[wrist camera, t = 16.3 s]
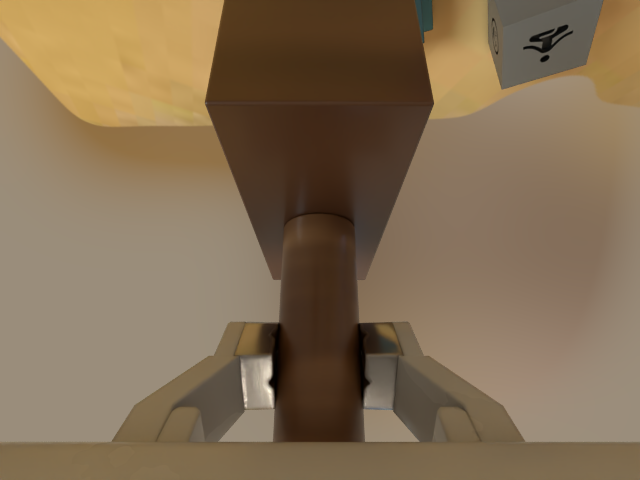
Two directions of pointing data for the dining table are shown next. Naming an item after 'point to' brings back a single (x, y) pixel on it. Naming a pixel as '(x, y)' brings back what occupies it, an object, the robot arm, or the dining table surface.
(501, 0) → the dice cube
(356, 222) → the mallet
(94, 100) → the dining table surface
